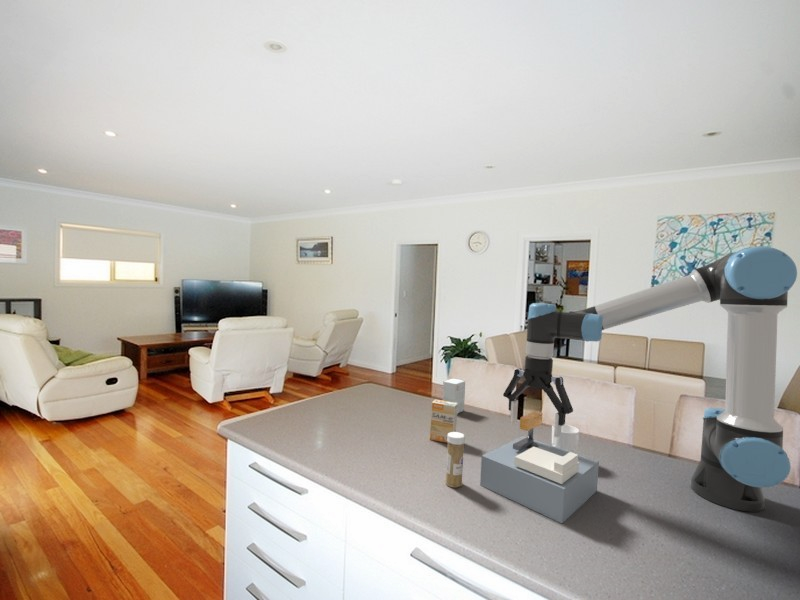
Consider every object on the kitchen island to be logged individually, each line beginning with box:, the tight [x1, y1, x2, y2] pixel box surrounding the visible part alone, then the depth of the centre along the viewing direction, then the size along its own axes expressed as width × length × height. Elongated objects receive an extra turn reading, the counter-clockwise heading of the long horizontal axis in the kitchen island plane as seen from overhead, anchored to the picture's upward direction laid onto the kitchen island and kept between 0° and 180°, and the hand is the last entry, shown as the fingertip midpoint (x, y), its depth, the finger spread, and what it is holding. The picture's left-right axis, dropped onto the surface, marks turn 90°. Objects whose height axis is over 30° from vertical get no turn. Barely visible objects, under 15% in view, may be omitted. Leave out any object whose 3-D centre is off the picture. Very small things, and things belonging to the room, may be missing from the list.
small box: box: [442, 378, 466, 415], centre depth 165 cm, size 8×6×13 cm
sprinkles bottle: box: [445, 431, 466, 488], centre depth 104 cm, size 5×5×14 cm
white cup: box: [551, 423, 580, 454], centre depth 122 cm, size 8×8×10 cm
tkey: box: [513, 410, 543, 451], centre depth 111 cm, size 2×12×8 cm, turn 135°
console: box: [479, 435, 600, 524], centre depth 104 cm, size 22×22×8 cm
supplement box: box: [429, 398, 458, 444], centre depth 134 cm, size 8×5×13 cm, turn 68°
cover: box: [514, 447, 579, 484], centre depth 97 cm, size 12×10×4 cm
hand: (534, 428), depth 114 cm, fingers open, 13 cm apart
